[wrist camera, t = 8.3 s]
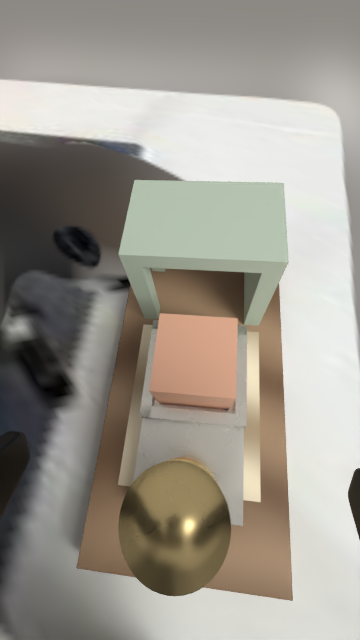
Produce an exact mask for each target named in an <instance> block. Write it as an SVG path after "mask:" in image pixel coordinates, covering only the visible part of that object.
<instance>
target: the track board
mask: <svg viewBox="0 0 360 640" xmlns="http://www.w3.org/2000/svg"><path fill="white" fill-rule="evenodd" d="M150 271H151V275H152V278H153V282H154V286H155V289H156V293H157V297H158V300H159V304H160V312H159V315H160V313H163V314H179V315H195V316H211V317H227V318H238V325H240V326H247V427H245V428H244V480H243V526H240V525H232V524H231V539H230V544H229V549H228V552H227V555H226V558H225V560H224V562H223V565H222V566H221V568H220V570H219V571H218V573H217V574H216V575H215V576H214V578H213V579H212V580H211V581H210V582H209V583H208V584H206V585H205V586H204V587H205V588H211V589H218V590H225V591H231V592H238V593H245V594H251V595H258V596H265V597H271V598H278V599H285V600H291V601H293V594H292V572H291V549H290V526H289V503H288V480H287V457H286V434H285V411H284V389H283V366H282V343H281V320H280V297H279V283H278V285H277V288H276V290H275V292H274V294H273V296H272V298H271V300H270V302H269V305H268V307H267V309H266V311H265V313H264V315H263V317H262V319H261V322H260V324H259V326H255V325H244V272H229V271H208V270H187V269H165V272H158V271H152V268H150ZM153 320H159V319H146V318H144V315H143V313H142V311H141V308H140V306H139V303H138V301H137V299H136V296H135V294H134V291H133V289H132V286H131V285H130V290H129V295H128V300H127V306H126V311H125V316H124V321H123V327H122V332H121V337H120V342H119V348H118V353H117V358H116V363H115V369H114V374H113V379H112V384H111V390H110V395H109V400H108V405H107V411H106V416H105V421H104V426H103V432H102V437H101V442H100V448H99V453H98V458H97V463H96V469H95V474H94V479H93V484H92V490H91V495H90V500H89V505H88V511H87V516H86V521H85V526H84V532H83V537H82V542H81V547H80V553H79V558H78V563H77V568H78V569H85V570H91V571H98V572H105V573H111V574H118V575H125V576H131V577H135V576H134V574H133V573H132V571H131V570H130V568H129V567H128V565H127V563H126V561H125V559H124V556H123V553H122V550H121V546H120V542H119V533H118V524H119V515H120V510H121V506H122V503H123V500H124V497H125V495H126V493H127V491H128V490H129V488H130V486H131V485H132V483H133V481H134V474H135V467H136V460H137V453H138V446H139V439H140V432H141V425H142V418H141V417H139V414H140V407H141V400H142V393H143V387H144V380H145V373H146V366H147V359H148V352H149V346H150V339H151V332H152V325H153Z"/></svg>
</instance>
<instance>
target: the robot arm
mask: <svg viewBox="0 0 360 640" xmlns="http://www.w3.org/2000/svg"><path fill="white" fill-rule="evenodd" d="M29 459H30V451H29V447H28V442H27V438H26V435H25V434H24V433H23V432H16V431H9V432H7V433H5V434H3V435H1V436H0V519H1V517H2V515H3V513H4V511H5V509H6V507H7V505H8V503H9V501H10V499H11V497H12V495H13V493H14V491H15V489H16V487H17V485H18V483H19V481H20V479H21V477H22V475H23V473H24V470H25V468H26V466H27V464H28V462H29ZM348 498H349V503H350V506H351V510H352V514H353V517H354V521H355V524H356V528H357V532H358V535H359V539H360V468H357V469H356V470H355V472H354V474H353V478H352V481H351V484H350V487H349V491H348Z"/></svg>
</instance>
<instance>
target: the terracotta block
mask: <svg viewBox="0 0 360 640" xmlns="http://www.w3.org/2000/svg"><path fill="white" fill-rule="evenodd" d="M237 332H238V318H227V317H211V316H195V315H179V314H163V313H160V315H159V322H158V329H157V337H156V344H155V351H154V358H153V366H152V373H151V380H150V387H149V392H150V393H151V394H152V395H153V396H154V398H155V399H156V400H157V401H158V402H159V403H160V404H169V405H179V406H190V407H201V408H212V409H223V410H229V408H230V407H231V405H232V404H233V403H234V401H235V400H236V381H237Z"/></svg>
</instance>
